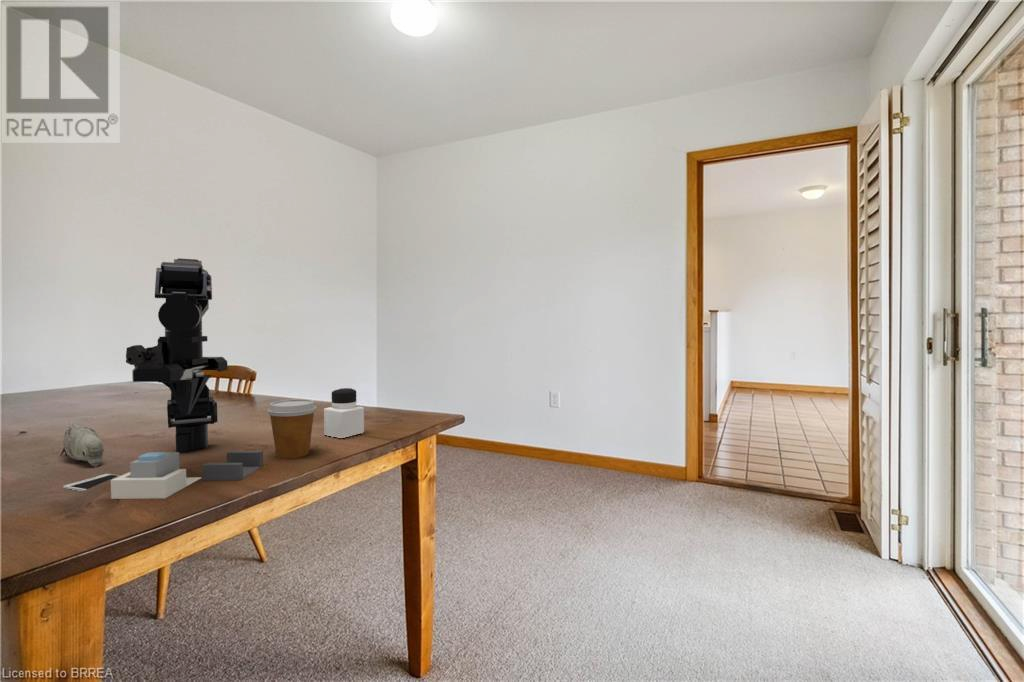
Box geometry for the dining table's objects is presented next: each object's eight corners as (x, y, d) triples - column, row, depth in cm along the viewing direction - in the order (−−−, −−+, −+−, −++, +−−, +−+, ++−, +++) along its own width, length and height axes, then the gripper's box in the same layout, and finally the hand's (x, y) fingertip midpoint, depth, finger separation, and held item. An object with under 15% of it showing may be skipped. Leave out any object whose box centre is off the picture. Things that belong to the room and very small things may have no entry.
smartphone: (125, 501, 79) (125, 495, 79) (61, 490, 83) (61, 485, 83) (167, 487, 86) (167, 481, 86) (107, 477, 90) (106, 473, 90)
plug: (156, 482, 84) (155, 448, 84) (179, 482, 84) (178, 448, 84) (131, 495, 78) (129, 458, 78) (156, 495, 78) (155, 458, 78)
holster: (230, 468, 95) (230, 450, 95) (263, 468, 95) (263, 450, 95) (203, 484, 86) (202, 464, 86) (239, 484, 86) (239, 464, 86)
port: (154, 482, 87) (154, 461, 87) (202, 481, 87) (201, 461, 87) (111, 503, 77) (110, 480, 77) (165, 502, 77) (164, 479, 77)
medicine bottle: (364, 434, 124) (364, 388, 124) (341, 439, 118) (341, 391, 117) (346, 430, 128) (346, 386, 127) (323, 435, 122) (323, 389, 121)
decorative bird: (78, 471, 93) (77, 433, 92) (56, 457, 102) (55, 423, 102) (113, 464, 97) (112, 428, 97) (89, 451, 106) (88, 418, 106)
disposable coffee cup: (326, 453, 106) (325, 400, 105) (295, 466, 97) (295, 407, 96) (290, 450, 109) (289, 397, 108) (257, 462, 99) (256, 405, 99)
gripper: (172, 329, 97) (174, 405, 98) (97, 332, 78) (100, 425, 79) (228, 329, 98) (229, 405, 98) (167, 332, 79) (169, 425, 80)
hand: (185, 414), depth 89 cm, fingers closed
